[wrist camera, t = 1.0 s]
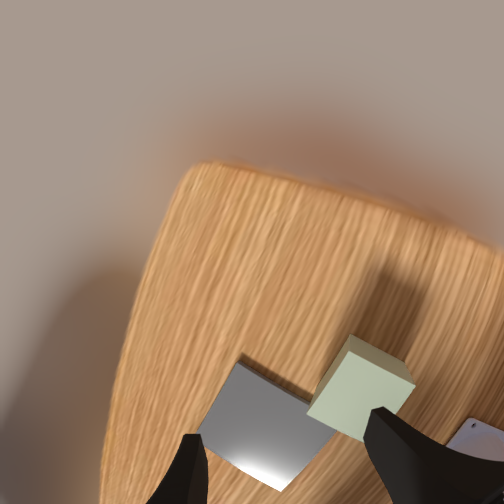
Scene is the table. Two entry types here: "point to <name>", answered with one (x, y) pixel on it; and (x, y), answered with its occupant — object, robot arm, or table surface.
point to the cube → (359, 387)
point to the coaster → (262, 428)
